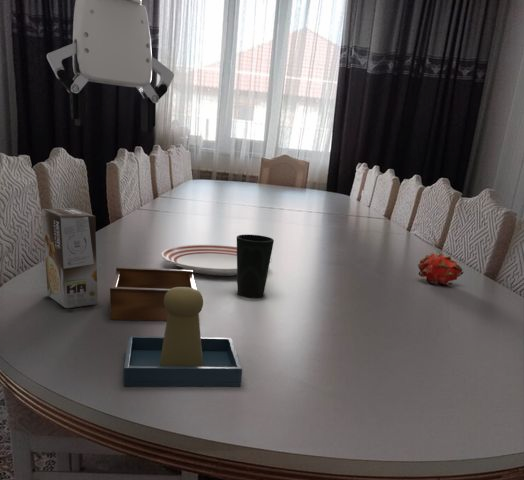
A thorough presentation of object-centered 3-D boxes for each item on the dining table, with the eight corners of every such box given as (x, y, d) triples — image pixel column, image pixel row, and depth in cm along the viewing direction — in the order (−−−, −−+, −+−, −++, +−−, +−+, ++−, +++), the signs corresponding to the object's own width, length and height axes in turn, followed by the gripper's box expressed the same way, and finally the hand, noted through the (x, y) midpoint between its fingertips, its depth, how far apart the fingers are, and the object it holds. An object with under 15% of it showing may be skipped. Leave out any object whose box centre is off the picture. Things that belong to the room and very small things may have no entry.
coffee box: (99, 304, 95) (97, 215, 89) (65, 309, 91) (60, 216, 85) (78, 291, 101) (75, 207, 95) (45, 295, 97) (39, 207, 91)
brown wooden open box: (110, 319, 89) (109, 288, 86) (116, 294, 102) (116, 266, 100) (196, 322, 91) (197, 291, 89) (191, 297, 105) (192, 270, 103)
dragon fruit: (409, 284, 139) (453, 296, 138) (420, 272, 130) (466, 285, 130) (415, 256, 141) (458, 268, 140) (426, 242, 132) (472, 255, 132)
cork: (154, 358, 74) (155, 283, 70) (194, 354, 77) (197, 281, 73) (167, 375, 69) (169, 296, 65) (209, 370, 72) (214, 294, 68)
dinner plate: (152, 276, 117) (152, 261, 116) (168, 251, 142) (169, 239, 141) (273, 285, 119) (274, 271, 117) (268, 259, 144) (269, 247, 143)
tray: (123, 386, 66) (123, 367, 66) (128, 352, 77) (128, 335, 76) (240, 386, 70) (242, 368, 69) (230, 353, 80) (231, 337, 79)
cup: (229, 296, 108) (233, 238, 103) (236, 287, 115) (240, 233, 110) (265, 301, 107) (271, 243, 102) (270, 292, 114) (275, 237, 109)
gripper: (164, 7, 76) (162, 133, 82) (37, -22, 67) (46, 122, 74) (184, -2, 70) (180, 135, 76) (48, -34, 61) (56, 123, 68)
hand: (114, 128), depth 75 cm, fingers open, 9 cm apart
